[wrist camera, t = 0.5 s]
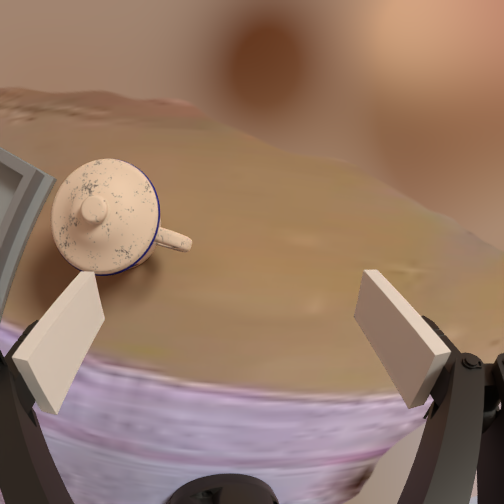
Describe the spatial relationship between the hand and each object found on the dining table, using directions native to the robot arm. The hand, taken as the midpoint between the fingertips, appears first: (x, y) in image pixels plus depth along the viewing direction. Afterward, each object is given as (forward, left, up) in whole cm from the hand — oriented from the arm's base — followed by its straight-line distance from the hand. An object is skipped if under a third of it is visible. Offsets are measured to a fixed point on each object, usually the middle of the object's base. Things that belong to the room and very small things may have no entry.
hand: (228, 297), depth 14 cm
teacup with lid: (+1, +8, -18) cm, 20 cm away
